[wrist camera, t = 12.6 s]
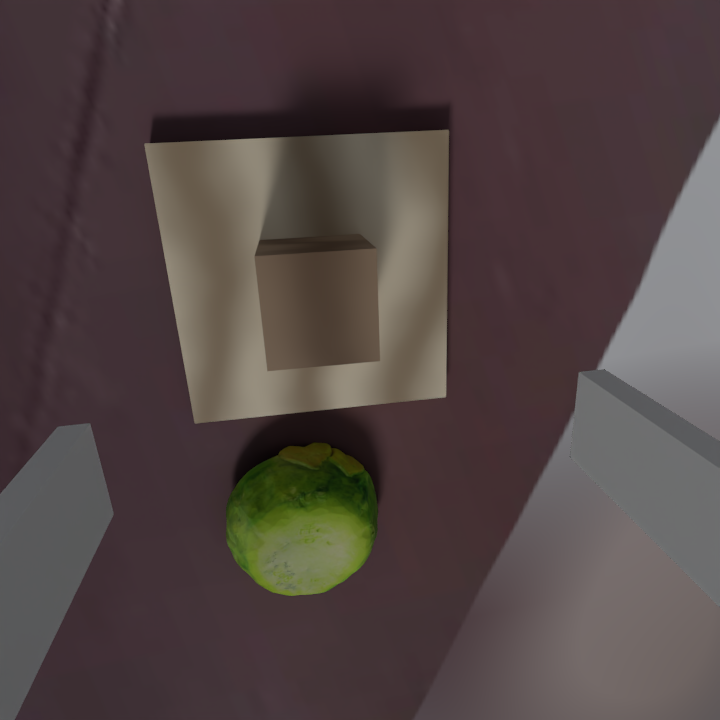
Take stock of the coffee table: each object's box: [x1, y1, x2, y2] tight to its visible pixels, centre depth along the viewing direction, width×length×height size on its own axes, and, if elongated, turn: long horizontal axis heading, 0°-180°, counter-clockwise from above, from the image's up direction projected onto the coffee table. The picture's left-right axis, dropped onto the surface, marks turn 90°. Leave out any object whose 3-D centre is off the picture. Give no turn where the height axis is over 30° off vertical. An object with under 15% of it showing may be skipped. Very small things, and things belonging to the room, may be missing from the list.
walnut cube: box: [254, 234, 380, 371], centre depth 29 cm, size 6×6×6 cm
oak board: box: [144, 130, 449, 423], centre depth 33 cm, size 17×17×1 cm
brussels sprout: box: [226, 442, 378, 596], centre depth 37 cm, size 12×11×5 cm
